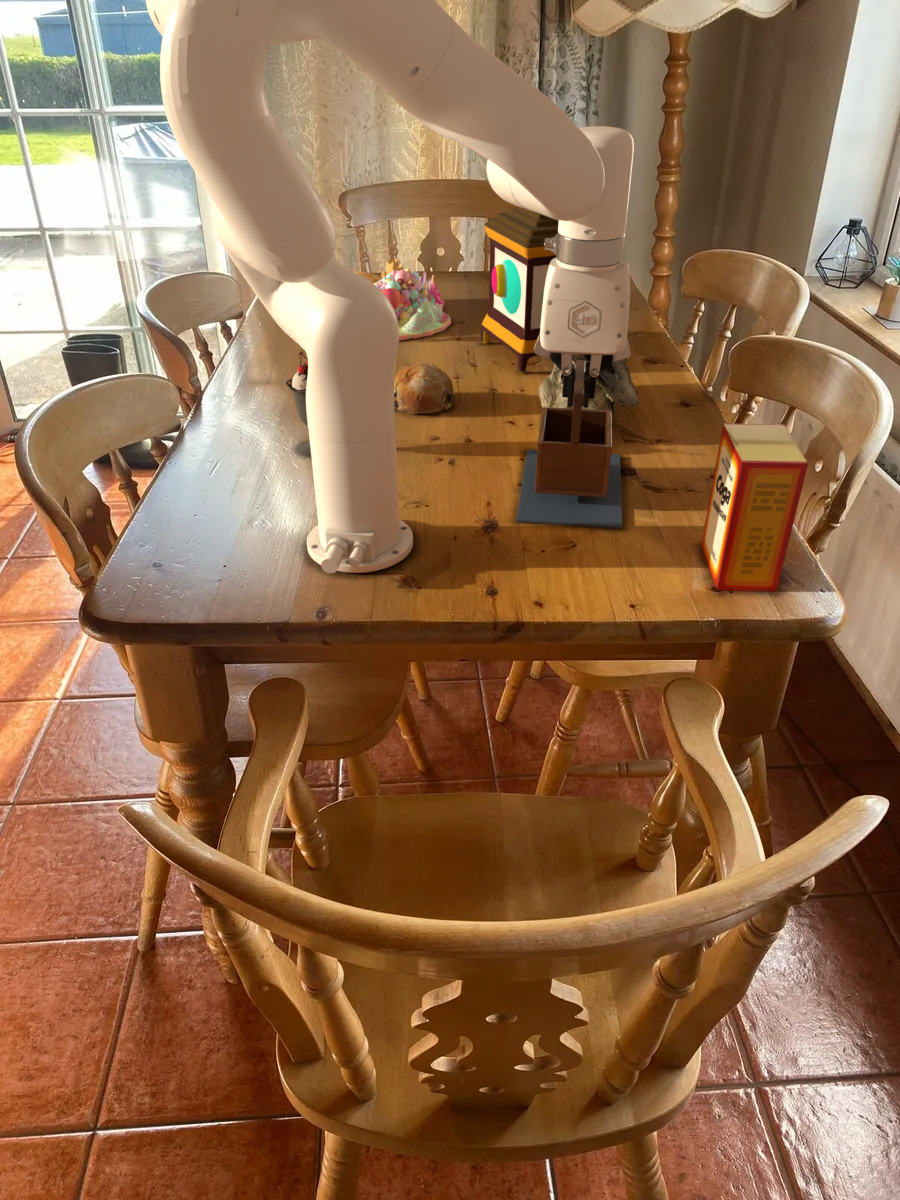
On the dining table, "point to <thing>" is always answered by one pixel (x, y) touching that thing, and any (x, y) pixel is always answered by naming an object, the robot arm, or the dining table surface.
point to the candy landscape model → (411, 300)
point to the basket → (574, 447)
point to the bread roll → (422, 390)
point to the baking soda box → (752, 506)
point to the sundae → (301, 397)
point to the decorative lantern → (517, 279)
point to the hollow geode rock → (608, 387)
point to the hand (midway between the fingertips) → (577, 402)
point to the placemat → (570, 501)
